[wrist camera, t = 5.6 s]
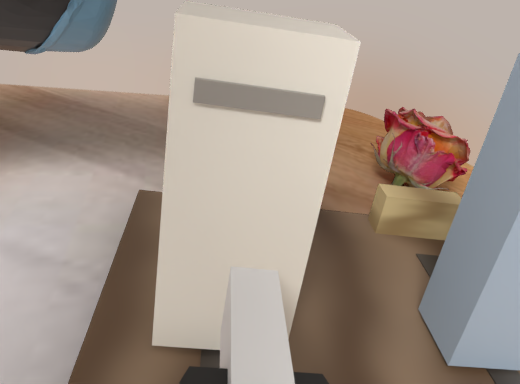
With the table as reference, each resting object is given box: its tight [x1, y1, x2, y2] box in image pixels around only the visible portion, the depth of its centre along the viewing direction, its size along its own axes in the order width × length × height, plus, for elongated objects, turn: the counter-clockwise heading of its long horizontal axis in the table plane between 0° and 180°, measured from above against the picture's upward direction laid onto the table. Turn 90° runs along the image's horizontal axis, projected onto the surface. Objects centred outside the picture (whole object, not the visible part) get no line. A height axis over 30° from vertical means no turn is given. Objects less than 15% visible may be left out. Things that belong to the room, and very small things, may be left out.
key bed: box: [68, 184, 520, 384], centre depth 28 cm, size 26×17×4 cm, turn 93°
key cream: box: [152, 0, 361, 350], centre depth 20 cm, size 6×4×14 cm
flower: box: [371, 107, 470, 190], centre depth 44 cm, size 10×9×8 cm
